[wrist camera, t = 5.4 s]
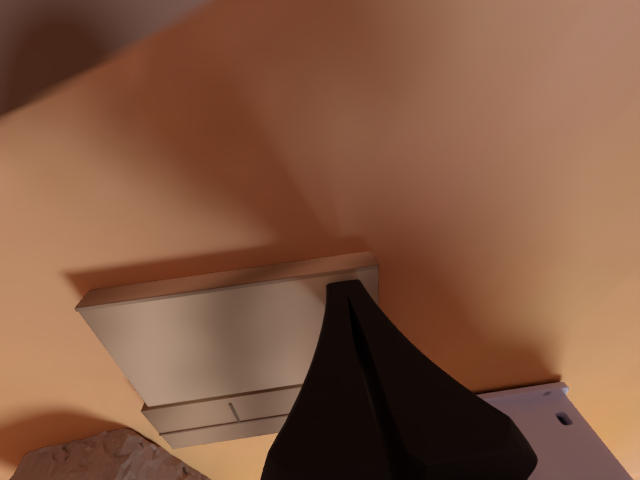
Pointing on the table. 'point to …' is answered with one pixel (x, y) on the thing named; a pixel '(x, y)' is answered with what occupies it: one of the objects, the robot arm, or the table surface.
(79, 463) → the brick
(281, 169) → the table surface
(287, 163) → the table surface
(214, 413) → the laid board
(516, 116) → the table surface
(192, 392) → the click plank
